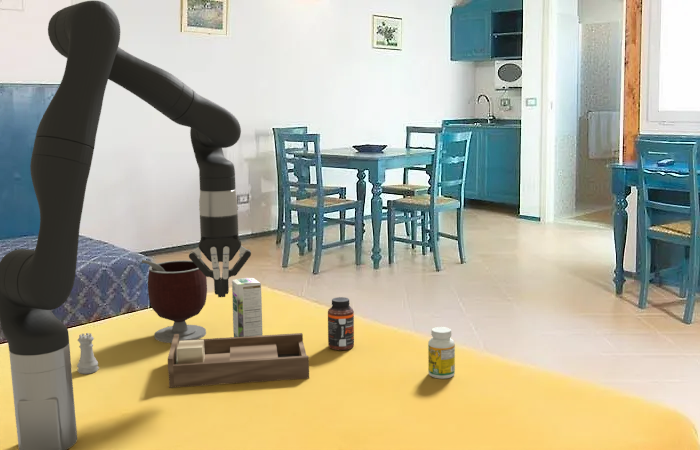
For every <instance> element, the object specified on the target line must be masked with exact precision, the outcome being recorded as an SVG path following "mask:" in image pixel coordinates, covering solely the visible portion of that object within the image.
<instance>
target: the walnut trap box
mask: <svg viewBox="0 0 700 450" xmlns="http://www.w3.org/2000/svg"><path fill="white" fill-rule="evenodd" d="M196 340H204V352H205V359H204V362H200V363H184V364H178V356H177V347H178V344H179V334H174V337H173V340H172V343H170V344H171V345H170V349H169V351H168V357H167V371H168V372H167V373H168V385H169V386H168V387H169V388H183V387H184V388H188V387H199V386H212V385H213V386H216V385H226V384H227V385H228V384H243V383H255V382H256V383H258V382H273V381H285V380H287V381H288V380H289V381H290V380H303V379H310V363H309V362H310V361H309V360H310V359H309V358H310V357H309V355H307V353H306V348H305V344H304V338H303V332H296V333H281V334H262V336H245V337H234V336H233V337H232V336H231V337H217V338H215V337H214V338H213V337H212V338H200V339H196ZM180 341H187V340H180Z"/></svg>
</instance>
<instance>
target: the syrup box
mask: <svg viewBox="0 0 700 450" xmlns="http://www.w3.org/2000/svg"><path fill="white" fill-rule="evenodd" d="M231 288H232V289H231V290H232V291H231V292H232V327H233V330H232V331H233V337H245V336H262V335H263V310H262V309H263V303H262V298H263V297H262V282H260V281H258V280H257V279H256V278H254V277H243V278H236V279H232V280H231Z"/></svg>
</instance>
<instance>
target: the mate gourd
mask: <svg viewBox="0 0 700 450" xmlns="http://www.w3.org/2000/svg"><path fill="white" fill-rule="evenodd" d="M141 263H142V264H147V265H149V267H148V270H149V271H148V275H147V294H148V300H149V303H150V306H151V309H152V310H153V311H154V312H155V314H156V315H157V316H158V317H159V318H161V319H165V320H168V321H172V322H173V325H171V326H167V327H163V328H160V329H158V330H157V331H155V332H154V334H153V335H154V339H155V340H156V341H158V342H160V343H167V344H172V340H173V337H174V334H179V341H180V340H196V339H203V337H205V336H206V334H207V330H206V328H205V327H204V326H201V325H197V324H187V322H186V321H187V320H188V319H191V318H193V317H195V316H197V315H199V314H200V313H201V311H202V310H203V308H204V306H206V302H207V296H208V282H207V280H208V279H207V277H206V276H205V275H204V274H203V273H202V272H201V270H200V269H199V268H198V267H197V266H196V265H195V264H194V263H193V261H192V260H170V261H163V262H158V263H156V262H154V261H153V262H152V261H150V260H147V259H142V260H141Z"/></svg>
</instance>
